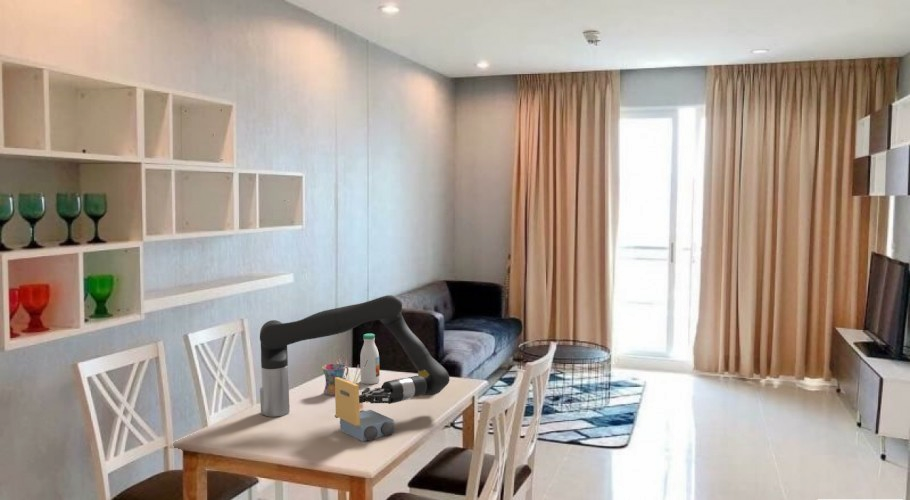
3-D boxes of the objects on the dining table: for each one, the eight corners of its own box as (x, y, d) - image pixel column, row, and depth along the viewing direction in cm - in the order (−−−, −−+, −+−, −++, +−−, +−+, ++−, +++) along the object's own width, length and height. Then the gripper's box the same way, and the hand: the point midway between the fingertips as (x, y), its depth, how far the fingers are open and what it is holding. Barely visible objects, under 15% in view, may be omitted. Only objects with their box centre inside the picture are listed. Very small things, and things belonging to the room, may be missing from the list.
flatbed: (368, 421, 250) (368, 408, 249) (396, 433, 237) (395, 420, 237) (338, 429, 242) (338, 416, 242) (364, 442, 230) (364, 428, 229)
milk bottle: (371, 385, 293) (370, 337, 291) (357, 383, 297) (355, 335, 295) (383, 381, 300) (382, 333, 298) (368, 378, 304) (367, 331, 302)
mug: (334, 398, 277) (333, 370, 276) (317, 394, 283) (316, 367, 282) (356, 390, 286) (356, 364, 285) (340, 386, 292) (339, 361, 291)
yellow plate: (337, 416, 241) (336, 376, 240) (361, 428, 229) (360, 385, 228) (333, 418, 240) (332, 377, 239) (357, 429, 228) (356, 386, 227)
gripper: (387, 375, 251) (343, 385, 241) (409, 383, 241) (365, 393, 230) (387, 396, 252) (344, 407, 241) (409, 405, 242) (365, 416, 231)
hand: (354, 400), depth 236 cm, fingers closed
